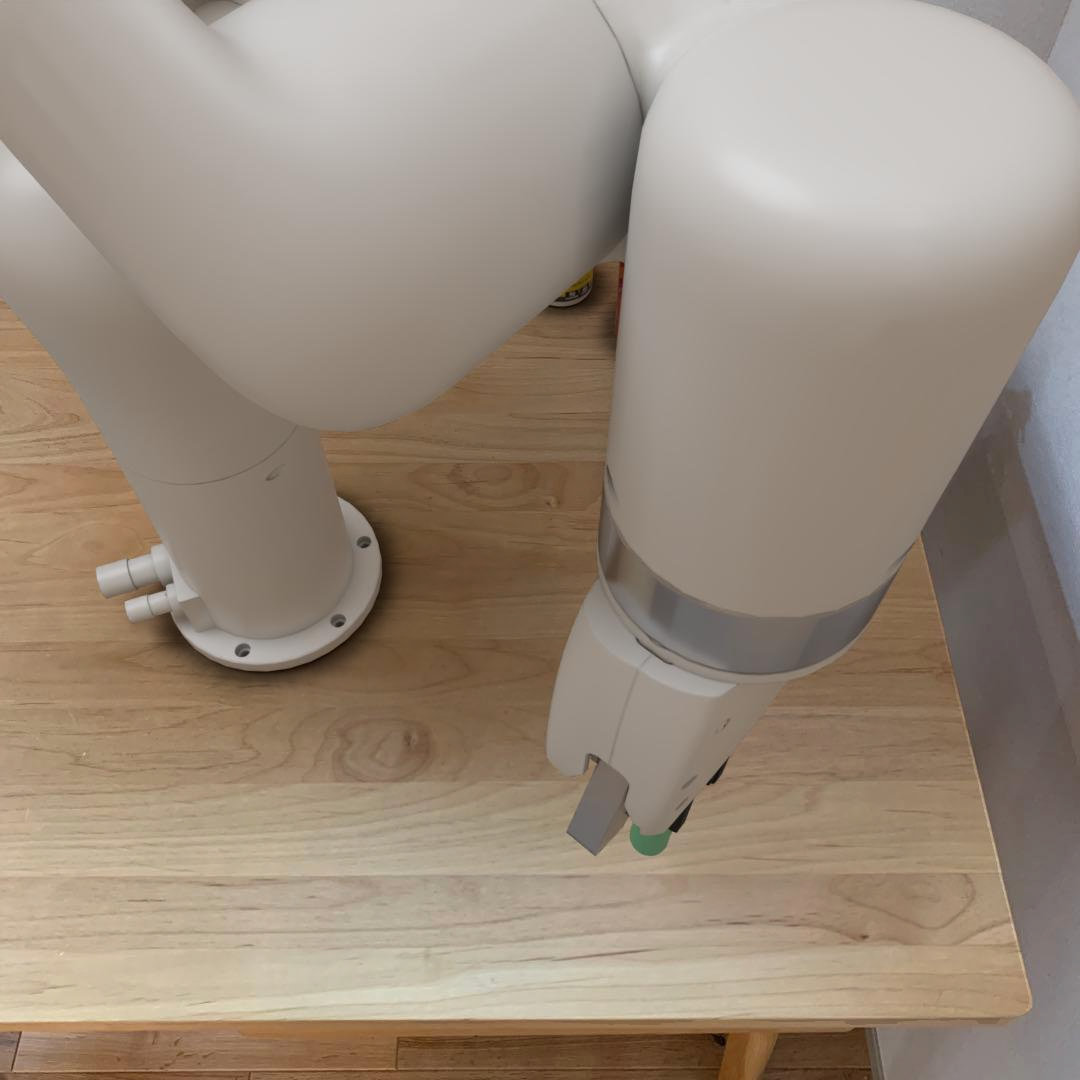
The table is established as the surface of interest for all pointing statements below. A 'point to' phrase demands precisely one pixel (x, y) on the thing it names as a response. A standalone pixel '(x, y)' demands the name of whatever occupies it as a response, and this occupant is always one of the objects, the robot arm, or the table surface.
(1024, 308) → the robot arm
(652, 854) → the green rod
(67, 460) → the table surface
